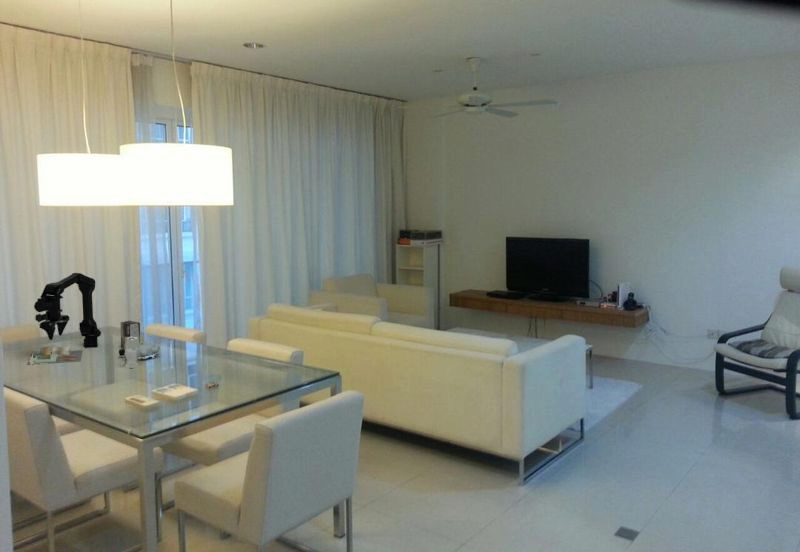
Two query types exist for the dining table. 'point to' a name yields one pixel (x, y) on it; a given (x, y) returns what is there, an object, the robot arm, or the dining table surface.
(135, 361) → the beer glass
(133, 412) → the dining table surface
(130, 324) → the coffee box
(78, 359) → the mat
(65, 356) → the socket
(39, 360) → the tray
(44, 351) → the dowel
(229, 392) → the dining table surface
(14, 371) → the dining table surface
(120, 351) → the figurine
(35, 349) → the bench stop
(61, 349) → the beige slab
